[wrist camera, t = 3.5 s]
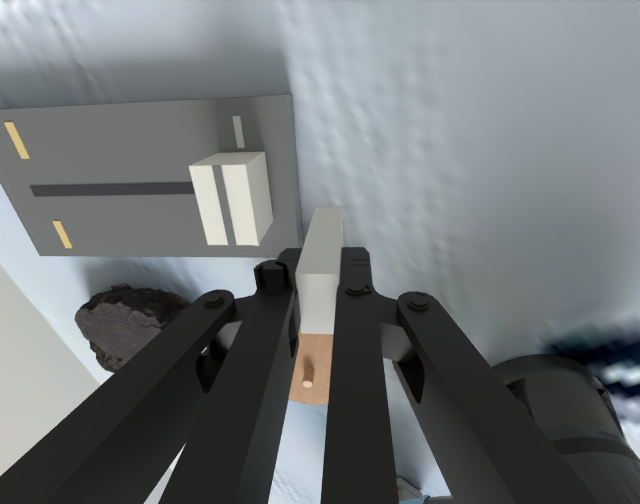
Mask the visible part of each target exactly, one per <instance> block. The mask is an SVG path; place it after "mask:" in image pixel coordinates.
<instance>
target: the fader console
mask: <svg viewBox="0 0 640 504" xmlns="http://www.w3.org/2000/svg"><path fill="white" fill-rule="evenodd" d="M233 152H265V157H266V165H267V173H268V181H269V189H270V197H271V205H272V213H273V222H272V224H271V225H270V227H269V228H268V230H267V232H266V233H265V235H264V237H263V238H262V240H261V241H260V243H259V245H236V246H228V245H208V243H207V239H206V235H205V231H204V227H203V223H202V219H201V215H200V211H199V206H198V202H197V198H196V194H195V190H194V186H193V182H192V178H191V174H190V170H189V166H190V165H192V164H194V163H197V162H199V161H201V160H203V159H205V158H208V157H210V156H212V155H214V154H216V153H233ZM0 183H1V185H2V187H3V189H4V191H5V193H6V194H7V196H8V198H9V200H10V202H11V204H12V206H13V207H14V209H15V211H16V213H17V215H18V217H19V218H20V220H21V222H22V224H23V226H24V228H25V229H26V231H27V233H28V235H29V237H30V239H31V241H32V242H33V244H34V246H35V248H36V250H37V252H38V253H39V255H40V256H122V257H279V254H280V253H281V252H282V251H284V250H285V249H286V248H302V247H303V244H304V242H303V230H302V217H301V204H300V192H299V179H298V166H297V154H296V141H295V128H294V116H293V103H292V94H290V95H271V96H251V97H232V98H212V99H193V100H174V101H154V102H135V103H115V104H96V105H77V106H57V107H38V108H19V109H0Z"/></svg>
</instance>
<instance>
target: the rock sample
mask: <svg viewBox="0 0 640 504" xmlns="http://www.w3.org/2000/svg"><path fill="white" fill-rule="evenodd" d="M111 288H112V290H111V291H110V292H105V293H98V294H96V295H94V296H92V298H91V299H90V301H89V302H87V303H86V304H84V305H82V306H81V307H80V309H79V310H78V311H77V313H76V315H75V322H76V323H77V325H78V327H79V329H80V330H81V332H82V334H83V336H84V337H85V338H86V339H87V340H89V343H90V348H91V350H92V351H93V352H95V353H96V359H97V361H98V363H99V364H100V365H101V366H102V367H103V368H104V369H105V370H106V371H110V372H112V373H115V372H117V371H118V370H119V369H120V368H121V367H122V366H123V365H124V364H125V363H127V362H128V361H129V360H130V359H131V358H132V357H133V356H134V355H135V354H137V353H138V352H139V351H140V350H141V349H142V348H143V347H144V346H145V345H146V344H148V343H149V342H150V341H151V340H152V339H153V338H154V337H155V336H156V335H158V334H159V333H160V332H161V331H162V330H163V329H164V328H165V327H166V326H168V325H169V324H170V323H171V322H172V321H173V320H174V319H175V318H176V317H178V316H179V315H180V314H181V313H182V312H183V311H184V310H185V309H186V308H188V307H189V306H190V305H189V303H188V301H187V300H186V299H185V298H184V297H181V296H179V295H177V294H175V293H173V292H170V293H169V292H168V293H167V292H165V291H163V290H161V289H156V290H153V289H151V288H139V289H135V290H133V289H132V287H130V286H129V285H128V284H121V285H119V286H112V287H111ZM200 354H201V353H200Z"/></svg>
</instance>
